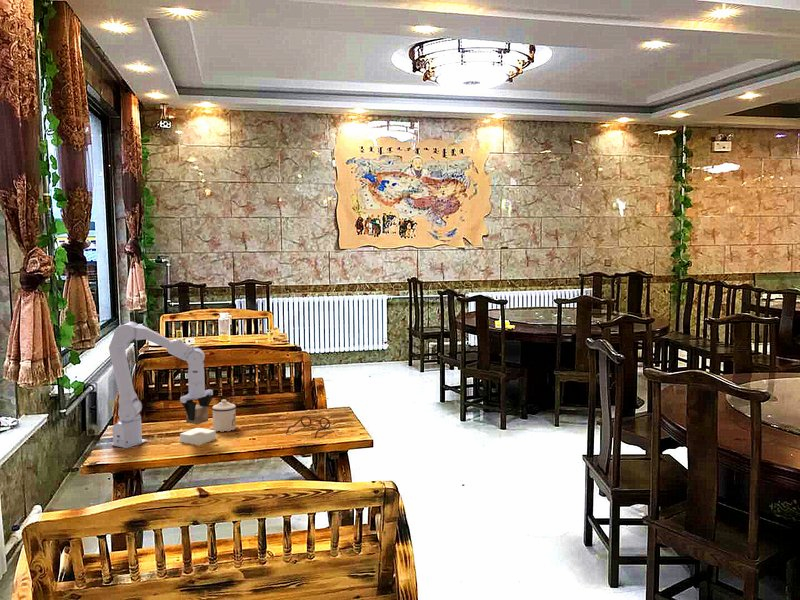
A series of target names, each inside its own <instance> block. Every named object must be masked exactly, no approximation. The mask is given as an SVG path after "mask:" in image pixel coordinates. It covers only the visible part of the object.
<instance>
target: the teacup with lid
mask: <svg viewBox="0 0 800 600" xmlns="http://www.w3.org/2000/svg"><path fill="white" fill-rule="evenodd" d="M236 408H237V405H236V404H234V403H231V402H230V401H227V399H221V401H220V402H218V403H216V404H214V405H213V406H212V408H211V409H212V430H215V431H216V432H218V431H220V433H222V432H223V433H224V431H227V432H231V430H232V431H234V430H236V428H237V422H236V420H237V419H236Z"/></svg>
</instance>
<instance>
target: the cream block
mask: <svg viewBox="0 0 800 600" xmlns="http://www.w3.org/2000/svg"><path fill="white" fill-rule="evenodd" d="M213 439H214V440H216V439H217V431H215V430H213V429H209V428H208V429H207V428H203V427H202V428H201V427H195V428H192V429H189V430H187V431H184V432H181V433H179V442H180V443H182V442H184V443H183V444H188V443H190V444H189V445H193V444H195V446H202V445H203V443H204V444H207V443H210V442H211V440H212V441H214V440H213ZM206 442H207V443H206Z"/></svg>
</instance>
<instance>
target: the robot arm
mask: <svg viewBox="0 0 800 600" xmlns="http://www.w3.org/2000/svg"><path fill="white" fill-rule="evenodd" d="M133 340H135V341H141V340H146V341H149V342H151V343H154V344H156V345H158V346H161V347H162V348H165V349H166V350H167V353H168V354H170V355H172V356H173V357H176V358H178V359H179V360H183V361H185V362H186V363H187V367H188V369H187V374H188V375H187V376H188V380H187V381H188V382H187V383H188V393H187V394H185V395H183V396H180V398H179V403H181V405H182V407H183V408H184V410H185V413H186V412H187V415H188V419H189V420H194V417H195V407H196V405H202V406H208V408H209V406H210V404H211V402H212V400H213V395H214V389H206V384H205V380H206V379H205V364H204V363H205V362H204V361H205V358H206V354H205V352H204V351H203V350H202V348H199V347H195V345H189V344H188V343H185V342H184V340H183V339H182V338H179V339H178V338H175V339H172V340H171V339H169V338H168V337H165V336H164V335H161V334H160V333H158V332H157V331H154V330H152V329H151V328H149V327H147V326H146V325H143V324H140V323H139V324H138V323H137V322H135V321H128V322H126V323H125V324H122V325H119V327H118V328H116V330H115V331H114V332H113V335H112V338H111V341H110V344H109V346H108V351H109V355H110V360H111V364H112V368H113V373H114V378H115V382H116V385H117V386H116V387H117V391H118V395H119V397H118V411H117V414H118V417H119V421H118V422H116V423H114V424H113V426H112V443H111V446H114V447H119V448H123V449H129V448H131V447H135V446H137V445H141V444H143V443H147V442H148V440H147V439H144V438H143V437H142V435H143V432H142V415H141V414H140V412H142V409H143V404H142V402H141V401H140V400H139V398H138V394H137V393H136V391H135V389H134V384H133V380H132V376H131V371H130V366H129V362H128V357H127V353H126V349H127V348H128V346H129V345H130V344H131V342H133ZM195 400H197V401H198V404H197V402H196V401H195Z"/></svg>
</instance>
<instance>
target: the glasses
mask: <svg viewBox="0 0 800 600" xmlns="http://www.w3.org/2000/svg"><path fill="white" fill-rule="evenodd" d="M303 418H307V419H308V421H309V424H308V425H307V424H305V423H304V422H303ZM323 420H325V421H327V422H326V423H325V424H324V425H322V421H323ZM312 421H313V422H318V423H319V426H320V427H321V428H319V429H317V430H316V431H315V434H314V436H313V438H314V439H316V438H317V437H318V433H319V432H321V431H323V430H324V428H326V430H328V429H330V427H331V421H330V420H329V418H327V417H322V418H320V419H318V418H317V419H316V418H311V417H310V416H308V415H302V416H301V417H300V418H299V420H297V421H296V422H295V423H294V424H293V425H289V426H288V427H287V429H286V432H285V434H287V433H289V431H290V429H291V428H294V427H296V426H297V425H298V424H299V423H300V424H301V425H302V426H304V427H307V428H309V427H310V426H312ZM327 426H328V427H327ZM287 435H288V434H287Z"/></svg>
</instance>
